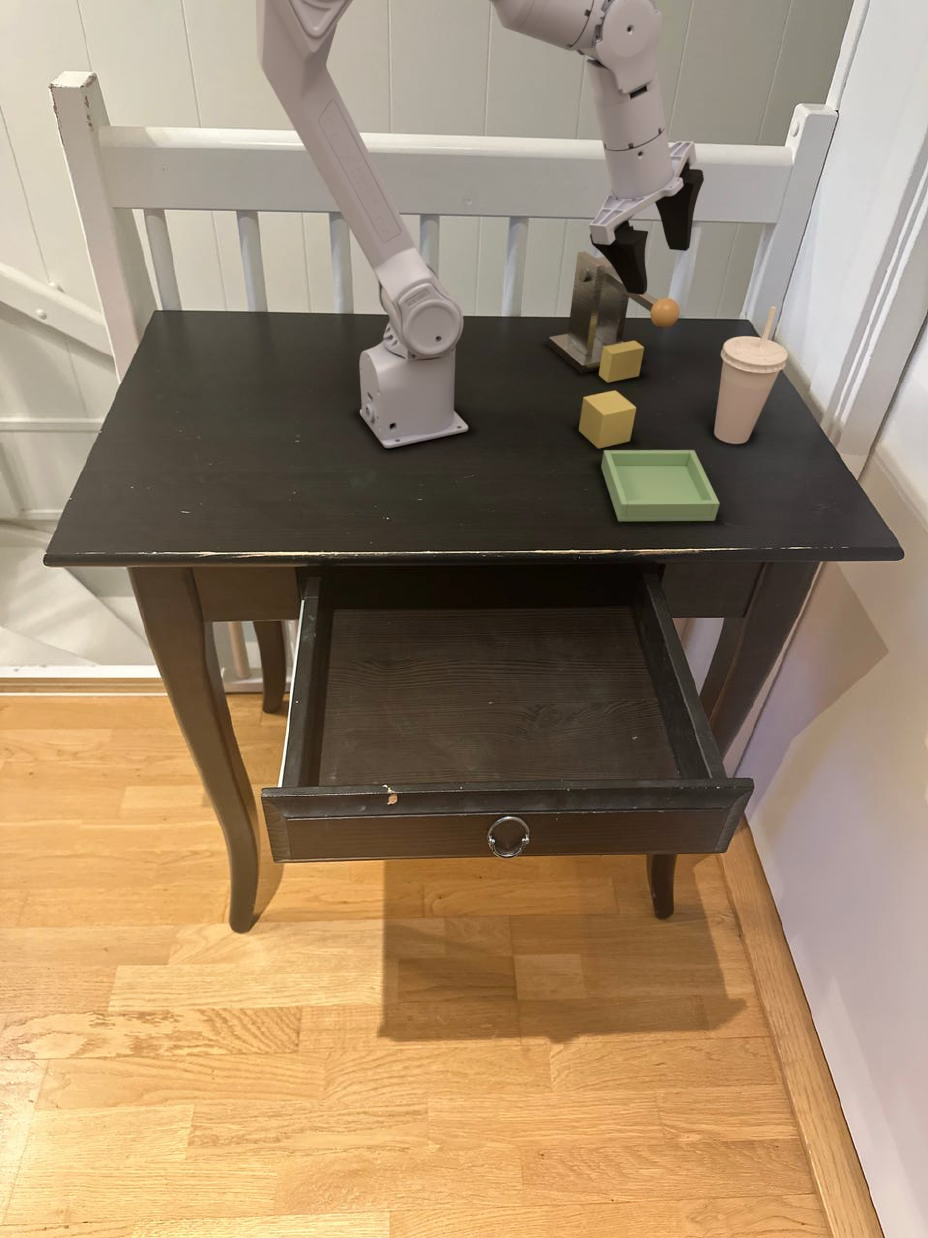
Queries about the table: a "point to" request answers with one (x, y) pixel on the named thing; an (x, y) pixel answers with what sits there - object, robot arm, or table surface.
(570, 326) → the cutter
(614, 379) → the butter block
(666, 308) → the cutter lever
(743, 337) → the smoothie
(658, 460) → the dish
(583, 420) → the yellow cube
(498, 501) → the table surface
